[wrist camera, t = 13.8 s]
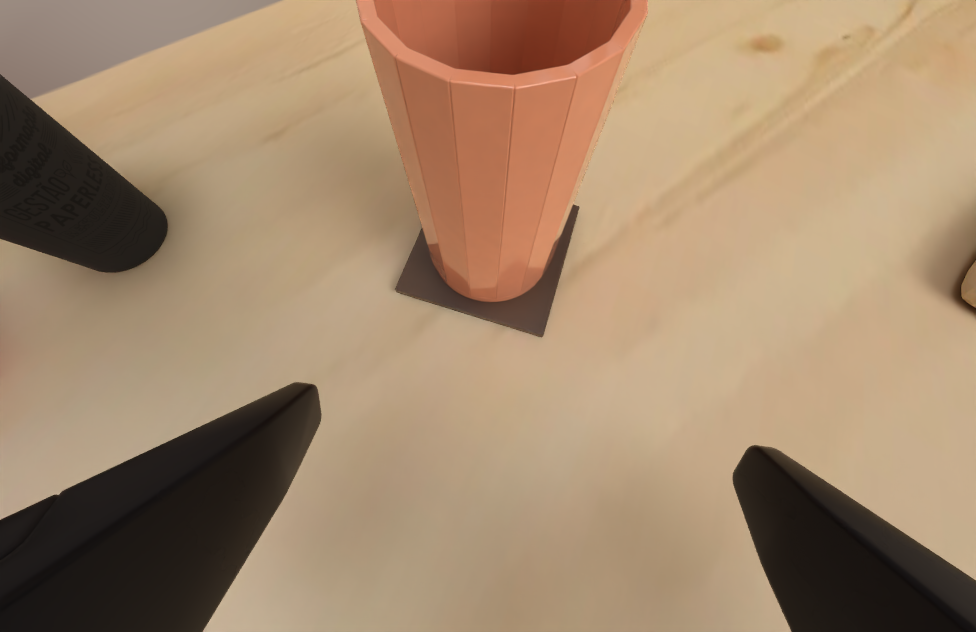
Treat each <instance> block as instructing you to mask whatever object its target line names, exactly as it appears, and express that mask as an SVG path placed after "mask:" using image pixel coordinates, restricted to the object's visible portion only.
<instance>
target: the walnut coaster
mask: <svg viewBox="0 0 976 632" xmlns="http://www.w3.org/2000/svg"><path fill="white" fill-rule="evenodd" d="M578 210H579V206H576V205H573V206H572V208H571V211H570V213H569V216H568V219H567V221H566V224H565V226H564V229H563V231H562V234H561V236H560V239H559V242H558V244H557V247H556V249H555V252H554V254H553V257H552V259H551V261H550V263H549V265H548V267H547V269H546V271H545V273H544V275H543V276H542V278H541V279H540V280H539V281H538V283H537V284H536V285H535V286H534V287H532V288H531V289H530V290H529V291H527V292H525V293H524V294H522V295H520V296H518V297H516V298H513V299H509V300H505V301H500V302H484V301H478V300H474V299H471V298H468V297H465V296H463V295H461V294H459V293H458V292H456V291H454V290H453V289H452V288H451V287H449V286H448V285H447V284H446V283H445V282H444V281H443V279H442V278H441V277H440V275H439V274H438V272H437V270H436V268H435V266H434V264H433V261H432V258H431V254H430V251H429V248H428V244H427V241H426V238H425V234H424V231H423V228H422V229H421V231H420V234H419V236H418V238H417V240H416V243H415V245H414V247H413V250H412V252H411V254H410V256H409V259H408V261H407V263H406V265H405V268H404V270H403V272H402V275H401V277H400V279H399V281H398V284H397V286H396V288H395V290H396V292H398V293H401V294H404V295H408V296H411V297H414V298H417V299H420V300H424V301H427V302H430V303H433V304H437V305H440V306H443V307H446V308H449V309H453V310H456V311H459V312H462V313H466V314H469V315H472V316H475V317H478V318H482V319H485V320H488V321H491V322H495V323H498V324H501V325H504V326H507V327H511V328H514V329H517V330H520V331H524V332H527V333H530V334H533V335H536V336H540V337H542V336H543V334H544V331H545V327H546V324H547V320H548V317H549V313H550V309H551V306H552V302H553V299H554V295H555V292H556V288H557V285H558V281H559V278H560V274H561V270H562V267H563V263H564V260H565V256H566V253H567V249H568V246H569V242H570V239H571V235H572V231H573V228H574V224H575V221H576V217H577V214H578Z"/></svg>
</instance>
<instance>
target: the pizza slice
mask: <svg viewBox="0 0 976 632" xmlns="http://www.w3.org/2000/svg"><path fill="white" fill-rule="evenodd" d="M961 292H962V298H963V299H964V300H965V301H966V302H967V303H969V304H970V305H972V306H974V307H975V308H976V261H975V262H974V264H973V265H972V266H971V268H970V269H969V270H968V272H967V274H966V276H965V279H964V281H963V283H962V285H961Z"/></svg>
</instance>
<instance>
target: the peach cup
mask: <svg viewBox="0 0 976 632" xmlns="http://www.w3.org/2000/svg"><path fill="white" fill-rule="evenodd" d="M356 3H357V8H358V12H359V17H360V21H361V25H362V28H363V31H364V35H365V38H366V41H367V45H368V48H369V51H370V55H371V58H372V61H373V65H374V68H375V71H376V75H377V78H378V81H379V85H380V88H381V91H382V95H383V98H384V101H385V105H386V108H387V111H388V115H389V118H390V121H391V125H392V128H393V131H394V135H395V138H396V141H397V145H398V148H399V151H400V155H401V158H402V161H403V165H404V168H405V171H406V175H407V178H408V181H409V185H410V188H411V191H412V195H413V198H414V201H415V205H416V208H417V211H418V215H419V218H420V221H421V225H422V228H423V231H424V234H425V238H426V241H427V244H428V248H429V251H430V254H431V258H432V261H433V264H434V266H435V268H436V270H437V272H438V274H439V275H440V277H441V278H442V279H443V281H444V282H445V283H446V284H447V285H448V286H449V287H451V288H452V289H453V290H454V291H456V292H458V293H459V294H461V295H463V296H465V297H468V298H471V299H474V300H478V301H484V302H500V301H505V300H509V299H513V298H516V297H518V296H520V295H522V294H524V293H525V292H527V291H529V290H530V289H531V288H532V287H534V286H535V285H536V284H537V283H538V281H539V280H540V279H541V278H542V276H543V275H544V273H545V271H546V269H547V267H548V265H549V263H550V261H551V259H552V257H553V254H554V252H555V249H556V247H557V244H558V242H559V239H560V236H561V234H562V231H563V229H564V226H565V224H566V221H567V219H568V216H569V213H570V211H571V208H572V206H573V203H574V201H575V198H576V196H577V193H578V190H579V188H580V185H581V183H582V180H583V178H584V175H585V173H586V170H587V167H588V165H589V162H590V160H591V157H592V155H593V152H594V150H595V147H596V144H597V142H598V139H599V137H600V134H601V132H602V129H603V127H604V124H605V121H606V119H607V116H608V114H609V111H610V109H611V106H612V104H613V101H614V98H615V96H616V93H617V91H618V88H619V86H620V83H621V81H622V78H623V75H624V73H625V70H626V68H627V65H628V63H629V60H630V57H631V55H632V52H633V50H634V47H635V45H636V42H637V40H638V37H639V34H640V32H641V29H642V27H643V24H644V22H645V19H646V17H647V13H648V0H356Z"/></svg>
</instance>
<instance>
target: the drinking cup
mask: <svg viewBox="0 0 976 632" xmlns="http://www.w3.org/2000/svg"><path fill="white" fill-rule="evenodd" d="M166 232H167V220H166V216H165V214H164V212H163V211H162V210H161V209H160V208H159V207H158V206H157V205H156V204H155V203H154V202H152V201H151V200H150V199H149V198H148V197H146V196H145V195H144V194H143V193H142V192H140V191H139V190H138V189H137V188H136V187H134V186H133V185H132V184H131V183H130V182H128V181H127V180H126V179H125V178H124V177H122V176H121V175H120V174H119V173H118V172H116V171H115V170H114V169H113V168H112V167H110V166H109V165H108V164H107V163H106V162H105V161H103V160H102V159H101V158H100V157H99V156H97V155H96V154H95V153H94V152H93V151H91V150H90V149H89V148H88V147H87V146H85V145H84V144H83V143H82V142H81V141H79V140H78V139H77V138H76V137H75V136H73V135H72V134H71V133H70V132H69V131H67V130H66V129H65V128H64V127H63V126H61V125H60V124H59V123H58V122H57V121H55V120H54V119H53V118H52V117H51V116H49V115H48V114H47V113H46V112H45V111H43V110H42V109H41V108H40V107H39V106H37V105H36V104H35V103H34V102H33V101H32V100H30V99H29V98H28V97H27V96H26V95H24V94H23V93H22V92H21V91H19V90H18V89H17V88H16V87H14V86H13V85H12V84H11V83H10V82H9V81H8V80H6V79H5V78H4V77H3V76H2V75H0V239H3V240H6V241H9V242H12V243H15V244H18V245H21V246H24V247H27V248H30V249H33V250H36V251H39V252H42V253H45V254H48V255H52V256H55V257H58V258H61V259H64V260H67V261H70V262H73V263H76V264H79V265H82V266H85V267H88V268H91V269H94V270H97V271H101V272H120V271H124V270H128V269H131V268H133V267H136V266H138V265H139V264H141V263H143V262H144V261H146V260H147V259H149V258H150V257H151V256H152V255H153V254H154V253H155V252H156V251H157V250H158V248H159V247H160V246H161V244H162V242H163V241H164V238H165V236H166Z"/></svg>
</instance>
